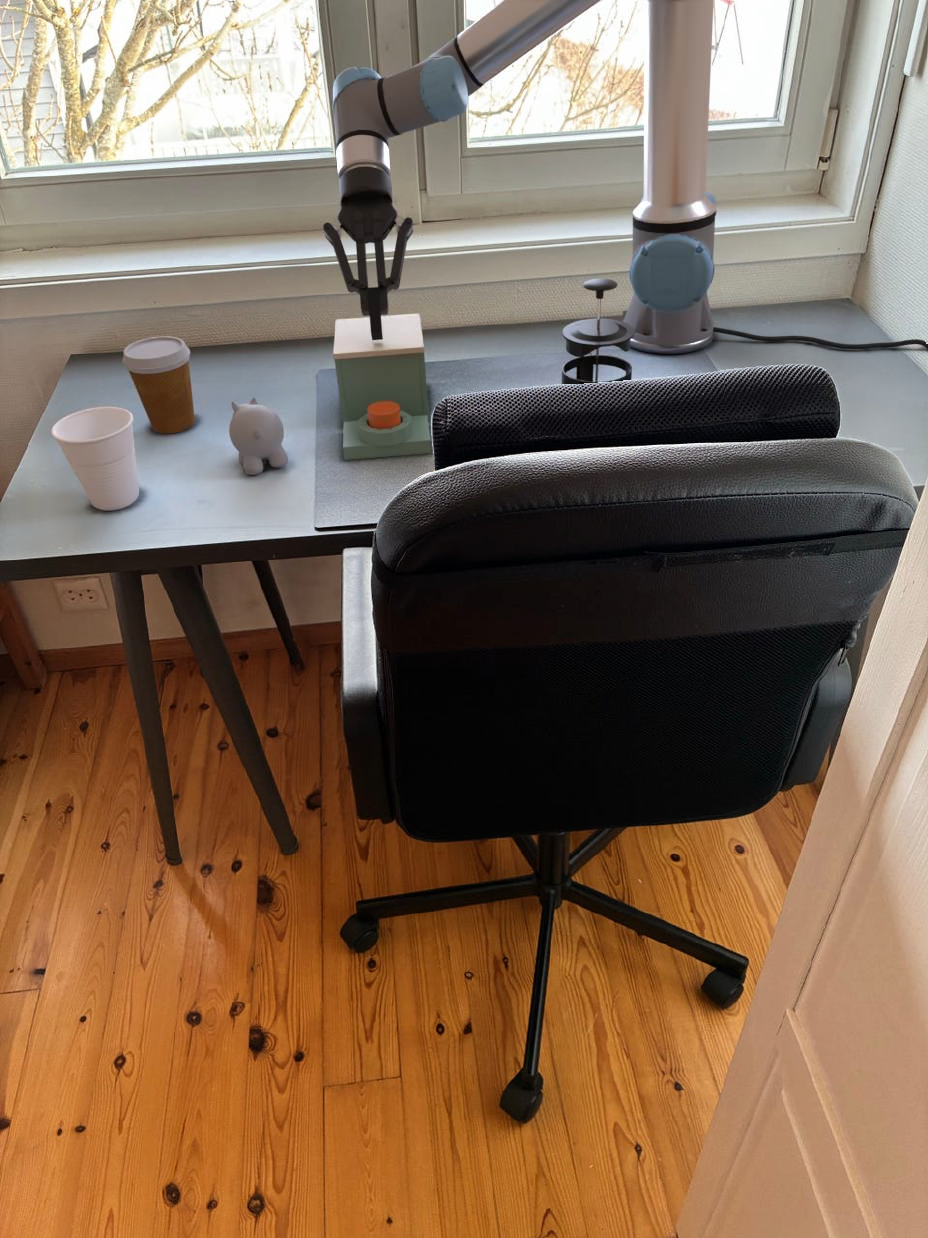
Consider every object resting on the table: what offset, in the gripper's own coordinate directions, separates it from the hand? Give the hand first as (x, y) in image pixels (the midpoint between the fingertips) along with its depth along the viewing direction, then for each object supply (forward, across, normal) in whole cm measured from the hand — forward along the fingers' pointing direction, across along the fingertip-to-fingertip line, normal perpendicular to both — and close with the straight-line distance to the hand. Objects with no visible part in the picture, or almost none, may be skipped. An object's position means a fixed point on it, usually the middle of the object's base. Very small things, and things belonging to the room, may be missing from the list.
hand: (376, 335), depth 131 cm
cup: (+22, +36, +3) cm, 42 cm away
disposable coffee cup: (+6, +32, -12) cm, 35 cm away
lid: (-2, 0, -4) cm, 5 cm away
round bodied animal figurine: (+16, +18, -3) cm, 24 cm away
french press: (+19, -28, +1) cm, 34 cm away
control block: (+15, 0, -4) cm, 15 cm away
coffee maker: (+6, 0, -12) cm, 14 cm away
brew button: (+13, 0, 0) cm, 13 cm away
